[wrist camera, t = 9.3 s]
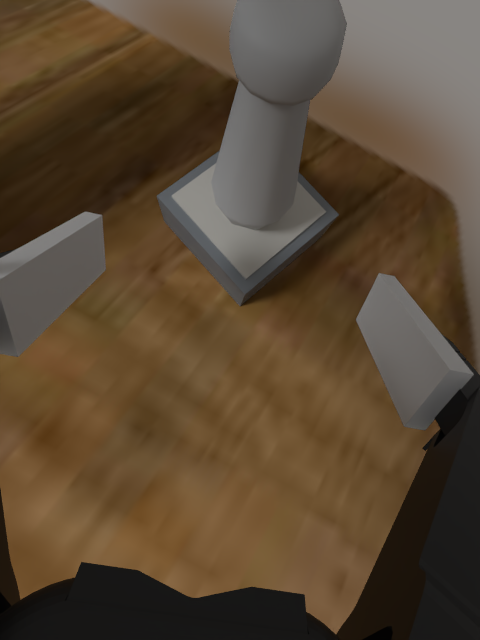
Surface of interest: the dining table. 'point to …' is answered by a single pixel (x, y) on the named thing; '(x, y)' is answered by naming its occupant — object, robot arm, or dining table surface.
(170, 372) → the dining table surface
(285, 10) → the salt shaker
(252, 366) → the dining table surface
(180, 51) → the dining table surface
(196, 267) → the dining table surface
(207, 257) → the slate plinth
